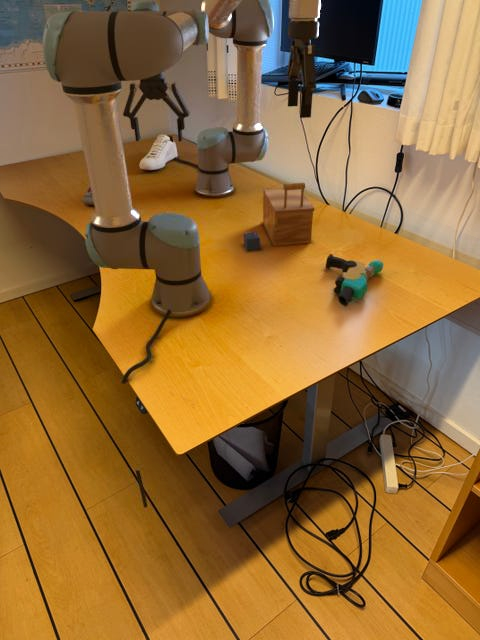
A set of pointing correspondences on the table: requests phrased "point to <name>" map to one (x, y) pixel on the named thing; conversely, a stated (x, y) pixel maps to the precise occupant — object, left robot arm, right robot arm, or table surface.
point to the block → (251, 241)
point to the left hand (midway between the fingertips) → (159, 140)
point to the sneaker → (160, 153)
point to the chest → (287, 225)
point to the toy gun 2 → (352, 277)
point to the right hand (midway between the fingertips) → (298, 111)
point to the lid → (289, 199)
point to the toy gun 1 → (88, 198)
